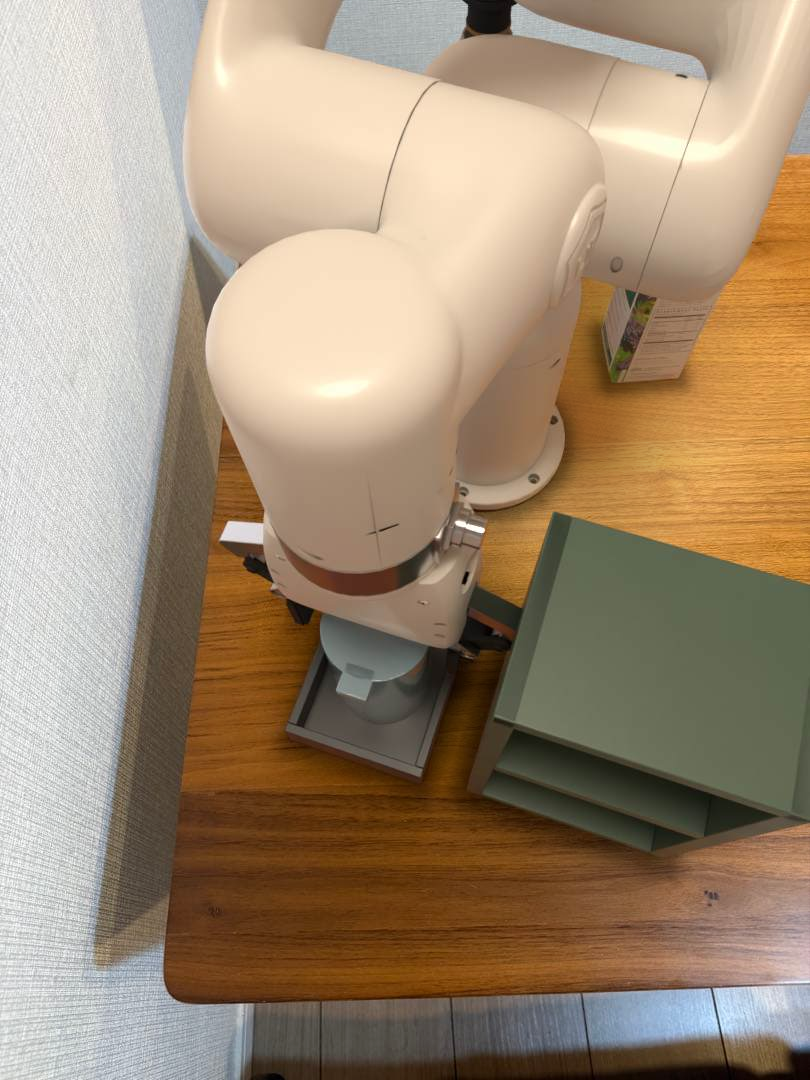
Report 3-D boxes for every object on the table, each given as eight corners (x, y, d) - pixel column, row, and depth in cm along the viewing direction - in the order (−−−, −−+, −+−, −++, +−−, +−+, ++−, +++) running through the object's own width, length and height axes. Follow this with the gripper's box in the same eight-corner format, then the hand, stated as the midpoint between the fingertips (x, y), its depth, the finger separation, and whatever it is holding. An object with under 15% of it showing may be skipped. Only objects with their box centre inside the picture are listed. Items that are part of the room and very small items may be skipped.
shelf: (507, 650, 58) (553, 510, 38) (691, 709, 56) (844, 593, 36) (465, 790, 54) (492, 716, 34) (662, 858, 52) (815, 822, 32)
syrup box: (598, 329, 69) (640, 191, 56) (667, 324, 69) (726, 185, 56) (610, 385, 67) (657, 254, 54) (682, 380, 67) (746, 249, 54)
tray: (358, 568, 61) (355, 551, 58) (478, 605, 59) (480, 590, 56) (291, 740, 55) (284, 731, 53) (420, 785, 54) (420, 778, 51)
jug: (367, 592, 59) (356, 526, 49) (452, 618, 58) (459, 557, 48) (318, 721, 55) (296, 677, 45) (408, 751, 54) (406, 714, 44)
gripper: (591, 484, 34) (539, 612, 50) (207, 375, 36) (275, 530, 52) (543, 653, 31) (505, 732, 47) (132, 522, 34) (227, 639, 49)
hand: (383, 626), depth 49 cm, fingers open, 9 cm apart
